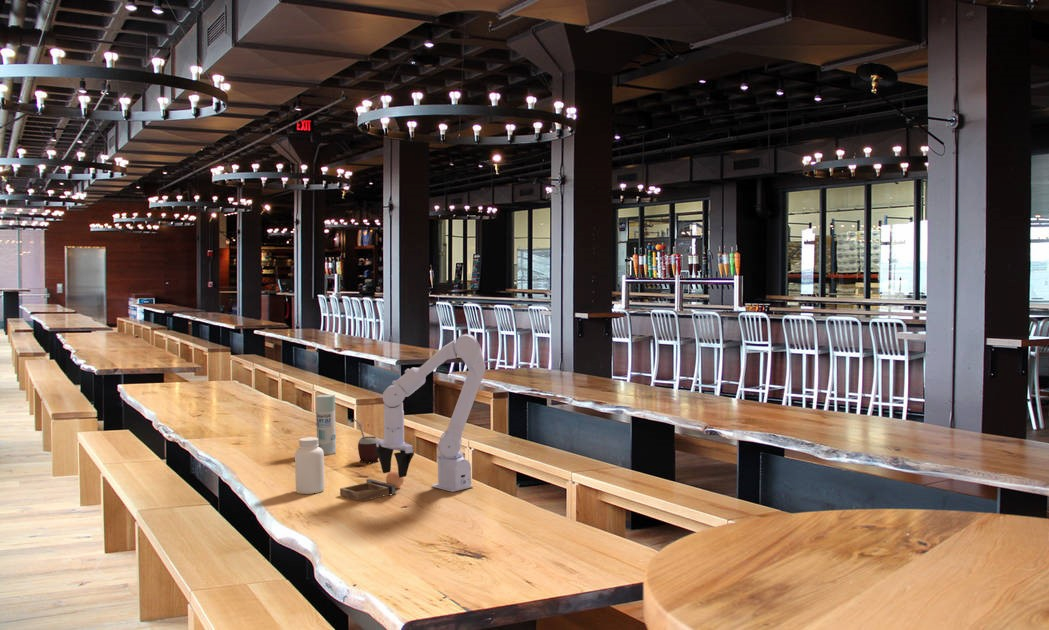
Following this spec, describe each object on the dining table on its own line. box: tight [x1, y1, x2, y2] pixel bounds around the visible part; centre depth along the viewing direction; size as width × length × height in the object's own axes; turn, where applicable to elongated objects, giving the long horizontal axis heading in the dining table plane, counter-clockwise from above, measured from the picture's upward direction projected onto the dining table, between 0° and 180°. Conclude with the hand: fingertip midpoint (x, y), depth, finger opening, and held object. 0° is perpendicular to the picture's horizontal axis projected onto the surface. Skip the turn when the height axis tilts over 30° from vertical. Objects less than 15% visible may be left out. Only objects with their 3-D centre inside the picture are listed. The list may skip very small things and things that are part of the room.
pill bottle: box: [294, 436, 325, 495], centre depth 246 cm, size 8×8×15 cm
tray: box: [339, 482, 390, 502], centre depth 241 cm, size 10×10×2 cm
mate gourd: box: [352, 418, 380, 464], centre depth 284 cm, size 8×8×15 cm
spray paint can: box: [315, 394, 337, 456], centre depth 299 cm, size 6×6×20 cm
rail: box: [365, 478, 396, 495], centre depth 245 cm, size 12×1×2 cm, turn 46°
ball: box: [385, 470, 405, 489], centre depth 249 cm, size 5×5×5 cm
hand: (394, 474), depth 249 cm, fingers open, 7 cm apart
